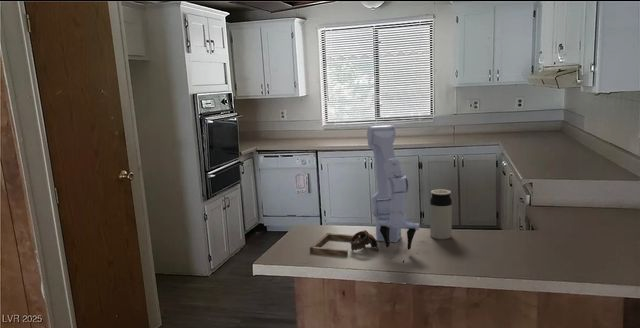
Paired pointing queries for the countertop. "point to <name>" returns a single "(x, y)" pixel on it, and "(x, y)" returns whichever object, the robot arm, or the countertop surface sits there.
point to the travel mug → (440, 214)
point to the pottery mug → (363, 241)
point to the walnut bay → (329, 251)
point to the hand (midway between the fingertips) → (398, 247)
